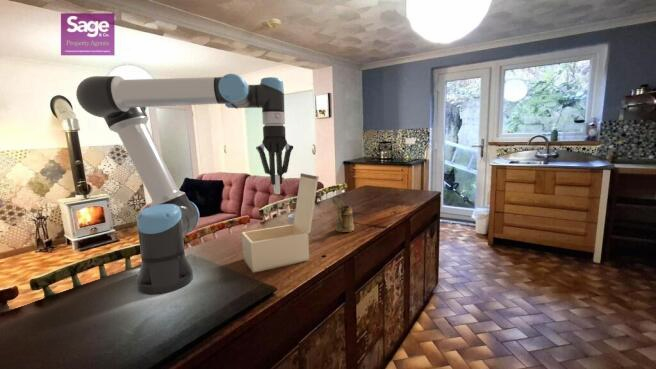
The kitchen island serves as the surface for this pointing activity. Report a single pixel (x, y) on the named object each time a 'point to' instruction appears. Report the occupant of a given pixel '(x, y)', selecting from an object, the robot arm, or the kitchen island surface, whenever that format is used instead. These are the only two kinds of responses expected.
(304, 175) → the lid
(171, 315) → the kitchen island surface
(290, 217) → the teacup
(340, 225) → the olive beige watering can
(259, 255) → the carton
